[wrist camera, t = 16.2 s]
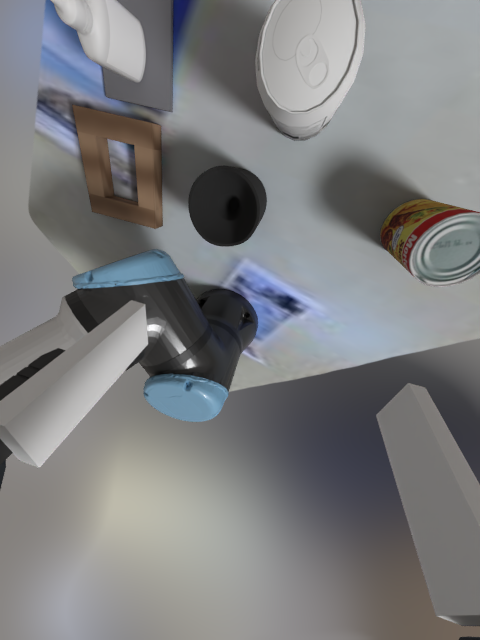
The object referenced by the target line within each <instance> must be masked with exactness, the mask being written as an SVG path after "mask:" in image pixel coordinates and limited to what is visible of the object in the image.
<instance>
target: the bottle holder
mask: <svg viewBox="0 0 480 640" xmlns="http://www.w3.org/2000/svg"><path fill="white" fill-rule="evenodd" d="M72 106H73V112H74V117H75V122H76V128H77V133H78V138H79V144H80V149H81V154H82V160H83V165H84V170H85V176H86V181H87V186H88V192H89V197H90V203H91V208H92V212H95V213H99V214H103V215H106V216H110V217H114V218H117V219H121V220H125V221H128V222H132V223H136V224H140V225H143V226H147V227H151V228H154V229H156V228H159V227H161V226H163V218H162V154H161V126H160V125H157V124H153V123H149V122H145V121H141V120H137V119H132V118H128V117H124V116H119V115H115V114H111V113H106V112H102V111H98V110H93V109H89V108H85V107H80V106H76V105H72ZM107 139H111V140H115V141H120V142H124V143H128V144H132V145H134V150H135V164H136V177H137V191H138V202H136V201H132V200H128V199H124V198H120V197H116V196H114V190H113V182H112V174H111V167H110V159H109V151H108V143H107Z"/></svg>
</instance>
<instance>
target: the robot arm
mask: <svg viewBox="0 0 480 640" xmlns="http://www.w3.org/2000/svg"><path fill="white" fill-rule="evenodd" d="M183 277H184V275H183V274H181V273H180V272H179V270H178V268H177V267H176V265H175V264H174V262H173V261H172V259H171V257H170V256H169V255H168V254H167V253H166V252H164V251H162V250H159V249H153V250H149V251H146V252H143V253H140V254H137V255H134V256H131V257H128V258H125V259H122V260H119V261H116V262H114V263H111V264H108V265H105V266H102V267H99V268H96V269H94V270H91V271H88V272H85V273H82V274H79V275H76V276H74V277H73V279H72V281H73V286H74V287H75V288H77V290H76V291H74V292H72V293H70V294H68V295H66V296H64V297H63V298H62V301H61V306H60V311H59V313H58V315H57V316H56V317H54V318H52V319H50V320H48V321H47V322H45V323H43V324H41V325H39V326H37V327H36V328H34V329H32V330H30V331H28V332H26V333H24V334H22V335H20V336H19V337H17V338H15V339H13V340H12V341H9V342H7V343H6V344H4V345H2V346H0V488H1V484H2V480H3V476H4V472H5V468H6V459H7V458H8V457H9V456H10V455H11V454H12V453H13V454H14V455H15V456H16V457H17V458H18V459H19V460H20V461H22V462H25V463H28V464H30V465H33V466H36V467H38V468H40V466H41V465H42V464H43V463H44V462H45V461H46V460H47V458H48V457H49V456H50V455H51V454H52V453H53V452H54V451H55V449H56V448H57V447H58V446H59V445H60V444H61V443H62V441H63V440H64V439H65V438H66V437H67V436H68V434H69V433H70V432H71V431H72V430H73V429H74V427H76V425H77V424H78V423H79V422H80V421H81V420H82V419H83V418H84V416H85V415H86V414H87V413H88V412H89V411H90V410H91V408H92V407H93V406H94V405H95V404H96V403H97V401H98V400H99V399H100V398H101V397H102V396H103V395H104V393H105V392H106V391H107V390H108V389H109V388H110V387H111V386H112V385H113V383H114V382H115V381H116V380H117V379H118V377H120V375H121V374H122V373H123V372H125V371H126V370H128V369H129V368H131V367H132V366H134V365H135V364H137V363H138V362H139V363H140V364H141V366H142V367H143V368H144V369H145V370H146V372H147V373H148V374H149V376H150V378H149V379H147V381H146V382H145V386H144V397H145V399H146V400H147V401H148V402H149V404H150V405H151V406H153V407H154V408H155V409H157V410H158V411H160V412H162V413H164V414H165V415H168V416H170V417H173V418H176V419H179V420H184V421H190V422H201V421H207V420H210V419H212V418H214V417H215V416H217V415H218V413H219V412H220V410H221V409H222V406H223V404H224V402H225V399H226V398H227V397H228V392H229V389H230V385H231V382H232V379H233V376H234V373H235V370H236V366H237V363H238V360H239V357H240V354H241V353H242V352H243V351H244V350H245V349H246V348H247V347H248V346H249V344H250V343H251V342H252V341H253V339H254V337H255V335H256V331H257V328H258V318H257V315H256V312H255V310H254V308H253V307H252V305H251V304H250V303H249V302H248V301H247V300H246V299H245V298H244V297H242V296H241V295H239V294H237V293H235V292H232V291H229V290H223V289H216V290H211V291H208V292H205V293H204V294H202V295H201V296H200V297H199V298H198V299H197V300H196V299H195V297H194V296H193V294H192V292H191V290H190V289H189V287H188V285H187V283H186V282H185V280H184V278H183ZM376 417H377V420H378V423H379V426H380V430H381V433H382V436H383V440H384V443H385V446H386V450H387V453H388V457H389V460H390V463H391V467H392V470H393V473H394V477H395V480H396V484H397V486H398V490H399V494H400V497H401V500H402V503H403V507H404V510H405V514H406V517H407V520H408V523H409V527H410V530H411V534H412V537H413V540H414V544H415V547H416V550H417V554H418V557H419V560H420V564H421V567H422V571H423V574H424V577H425V581H426V584H427V587H428V591H429V594H430V597H431V601H432V604H433V607H434V611H435V614H436V616H438V617H440V618H443V619H446V620H448V621H451V622H454V623H456V624H459V625H462V626H480V484H479V483H478V481H477V479H476V478H475V476H474V474H473V472H472V470H471V468H470V467H469V465H468V463H467V461H466V460H465V458H464V456H463V454H462V452H461V451H460V449H459V447H458V445H457V443H456V442H455V440H454V438H453V436H452V435H451V433H450V431H449V429H448V427H447V426H446V424H445V422H444V420H443V418H442V417H441V415H440V413H439V411H438V410H437V408H436V406H435V404H434V402H433V401H432V399H431V397H430V396H429V393H428V392H427V390H426V388H424V387H421V386H417V385H414V384H410V383H408V384H407V385H406V386H405V387H404V388H403V389H402V390H401V391H400V392H399V393H398V394H397V395H396V396H395V397H394V398H393V399H392V400H391V401H390V402H389V403H388V404H387V405H386V406H385V407H384V408H383V409H382V410H381V411H380V412H379V413H378V414H377V415H376ZM459 640H480V637H460V638H459Z"/></svg>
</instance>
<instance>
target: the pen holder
mask: <svg viewBox="0 0 480 640" xmlns="http://www.w3.org/2000/svg"><path fill="white" fill-rule="evenodd" d="M266 203H267V198H266V192H265V188H264V186H263V184H262V182H261V181H260V180H259V178H258V177H257V176H256V175H254V174H253V173H251V172H249V171H247V170H244V169H240V168H235V167H230V166H218V167H214V168H211V169H209V170H207V171H206V172H204V173H203V174H201V175H200V176H199V177H198V178H197V179H196V181H195V182H194V184H193V186H192V188H191V191H190V195H189V213H190V217H191V220H192V223H193V225H194V227H195V229H196V230H197V232H198V233H199V234H200V235H201V236H202V238H204V239H205V240H206V241H208V242H209V243H211V244H214V245H217V246H235V245H239V244H241V243H244V242H245V241H247V240H248V239H249V238H250V237H251V236H252V234H253V233H254V231H255V229H256V228H257V226H258V224H259V223H260V221H261V219H262V217H263V215H264V212H265V209H266Z"/></svg>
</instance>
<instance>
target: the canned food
mask: <svg viewBox="0 0 480 640" xmlns="http://www.w3.org/2000/svg"><path fill="white" fill-rule="evenodd" d="M380 240H381V243H382V245H383V247H384V248H385V249H386V250H387V251H388V252H389V253H390V254H391V255H392V256H393V257H394V258H395V259H396V260H397V261H398V262H399V263H400V264H401V265H402V266H403V267H404V268H406V269H407V270H408V271H409V272H410V273H411V274H412V275H413V276H414V277H415V278H416V279H417V280H418V281H419V282H421V283H423V284H426V285H428V286H434V287H446V286H452V285H456V284H460V283H462V282H465V281H467V280H470V279H472V278H473V277H475V276H477V275H478V274H480V212H476V211H472V210H468V209H464V208H460V207H456V206H452V205H448V204H444V203H440V202H436V201H432V200H426V199H417V200H411V201H409V202H406V203H403V204H402V205H400V206H399V207H397V208H395V209H394V210H393V211H392V212H391V213H390V214H389V215H388V217H387V218H386V219H385V221H384V223H383V225H382V227H381V232H380Z"/></svg>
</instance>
